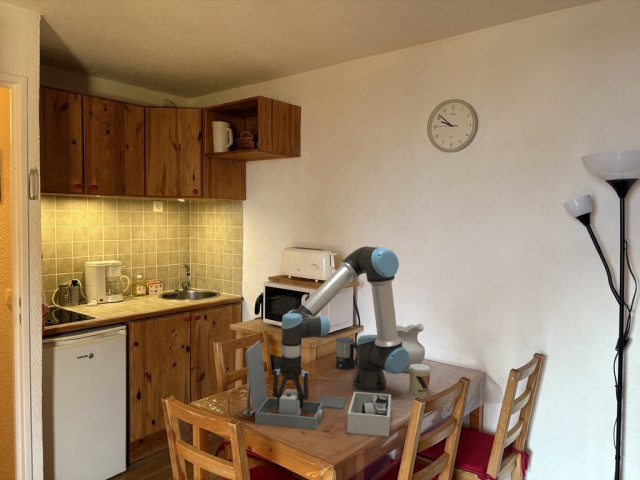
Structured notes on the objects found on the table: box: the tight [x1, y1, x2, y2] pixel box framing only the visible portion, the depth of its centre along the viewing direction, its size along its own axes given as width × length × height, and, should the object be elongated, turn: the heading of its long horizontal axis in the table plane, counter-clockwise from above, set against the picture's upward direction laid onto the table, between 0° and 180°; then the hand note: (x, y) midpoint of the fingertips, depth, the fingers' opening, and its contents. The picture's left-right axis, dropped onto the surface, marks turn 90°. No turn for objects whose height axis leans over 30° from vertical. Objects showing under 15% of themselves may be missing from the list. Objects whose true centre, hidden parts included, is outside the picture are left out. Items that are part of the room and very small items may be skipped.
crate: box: [346, 391, 392, 438], centre depth 177 cm, size 15×22×7 cm
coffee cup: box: [408, 363, 432, 398], centre depth 207 cm, size 9×9×12 cm
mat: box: [317, 395, 347, 410], centre depth 195 cm, size 11×11×1 cm
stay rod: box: [241, 372, 255, 417], centre depth 182 cm, size 4×4×24 cm
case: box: [254, 396, 324, 430], centre depth 179 cm, size 23×16×4 cm
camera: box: [361, 395, 388, 416], centre depth 177 cm, size 16×9×10 cm, turn 2°
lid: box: [244, 340, 268, 413], centre depth 181 cm, size 23×16×1 cm
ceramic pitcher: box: [396, 323, 426, 373], centre depth 242 cm, size 22×20×25 cm
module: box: [278, 388, 299, 416], centre depth 179 cm, size 6×10×10 cm, turn 170°
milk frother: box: [335, 336, 358, 371], centre depth 245 cm, size 14×16×15 cm
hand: (290, 415), depth 179 cm, fingers closed on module, 6 cm apart
